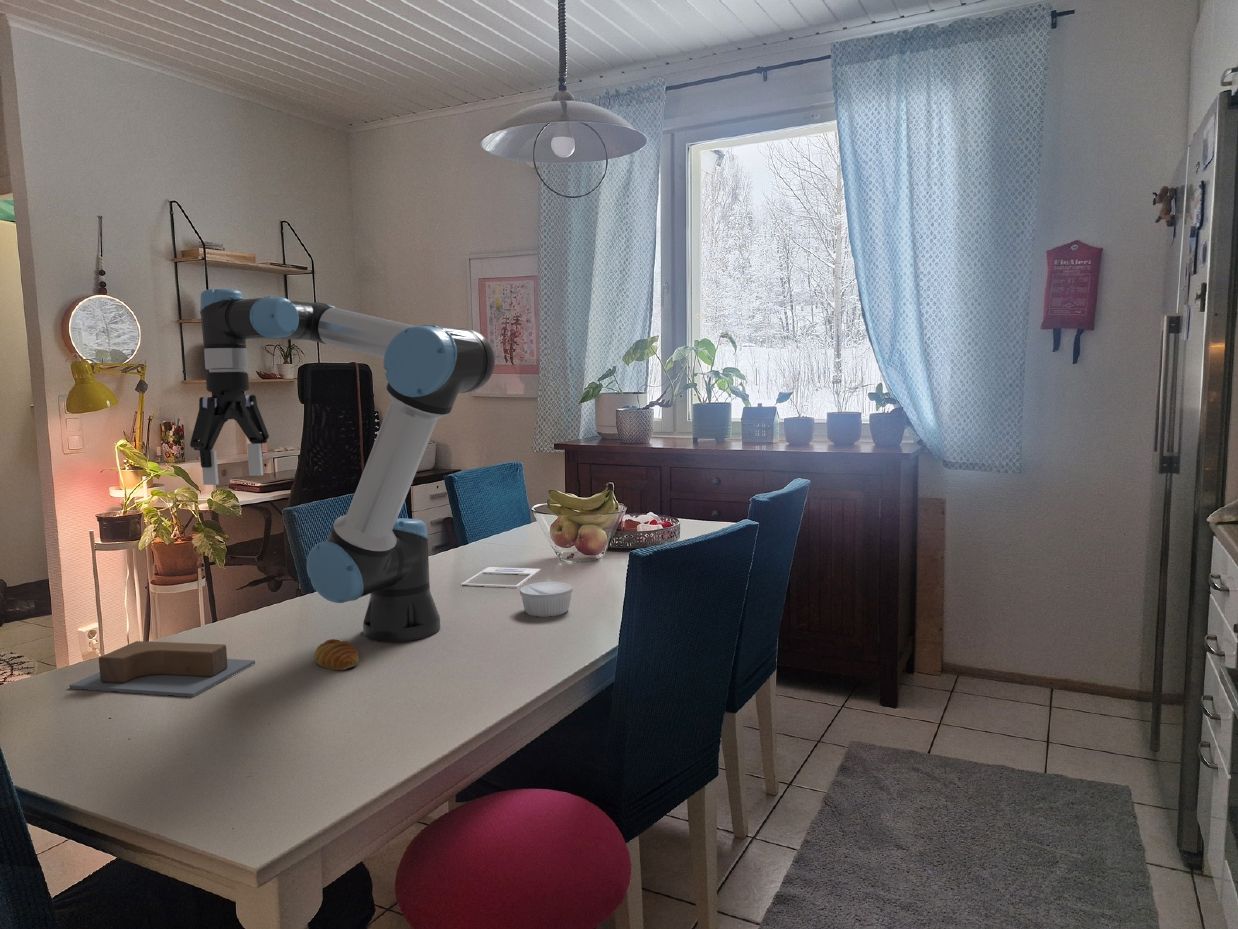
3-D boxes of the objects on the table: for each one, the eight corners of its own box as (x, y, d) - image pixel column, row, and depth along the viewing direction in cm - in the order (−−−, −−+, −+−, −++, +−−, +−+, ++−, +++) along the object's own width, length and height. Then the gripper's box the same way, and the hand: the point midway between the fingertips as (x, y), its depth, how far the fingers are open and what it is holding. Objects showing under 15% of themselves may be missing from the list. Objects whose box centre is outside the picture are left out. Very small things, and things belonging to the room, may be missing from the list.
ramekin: (511, 616, 180) (510, 592, 179) (535, 602, 190) (535, 579, 189) (558, 621, 175) (557, 596, 175) (581, 607, 186) (580, 583, 185)
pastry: (369, 666, 151) (368, 645, 150) (333, 676, 146) (332, 655, 146) (345, 654, 158) (344, 634, 157) (310, 663, 153) (309, 643, 153)
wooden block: (99, 683, 143) (195, 687, 140) (97, 657, 142) (193, 661, 139) (137, 664, 152) (228, 668, 149) (135, 640, 151) (226, 643, 148)
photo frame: (540, 568, 220) (517, 585, 202) (540, 572, 220) (517, 590, 203) (488, 566, 223) (460, 583, 206) (488, 570, 223) (460, 587, 206)
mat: (255, 663, 153) (255, 660, 153) (193, 697, 137) (193, 693, 137) (141, 657, 158) (141, 653, 158) (69, 688, 142) (69, 685, 142)
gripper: (250, 371, 176) (257, 472, 178) (162, 371, 152) (172, 488, 154) (282, 370, 174) (289, 472, 177) (199, 370, 150) (208, 488, 152)
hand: (234, 480), depth 165 cm, fingers open, 13 cm apart
